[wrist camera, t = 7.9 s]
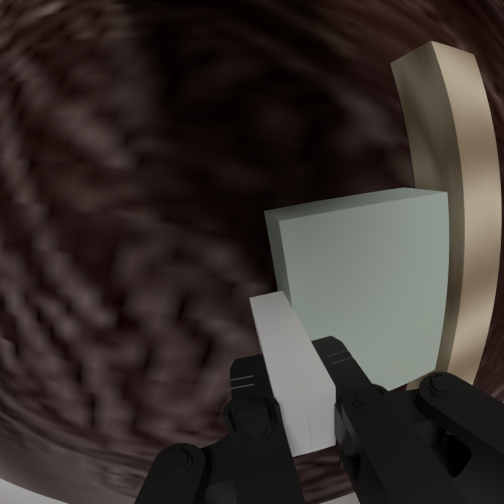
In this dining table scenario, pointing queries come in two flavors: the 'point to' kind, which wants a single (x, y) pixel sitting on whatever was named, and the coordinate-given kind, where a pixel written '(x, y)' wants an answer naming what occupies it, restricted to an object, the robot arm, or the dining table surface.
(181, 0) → the vase
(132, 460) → the dining table surface
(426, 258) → the block
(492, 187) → the curved wooden bar
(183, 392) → the dining table surface
